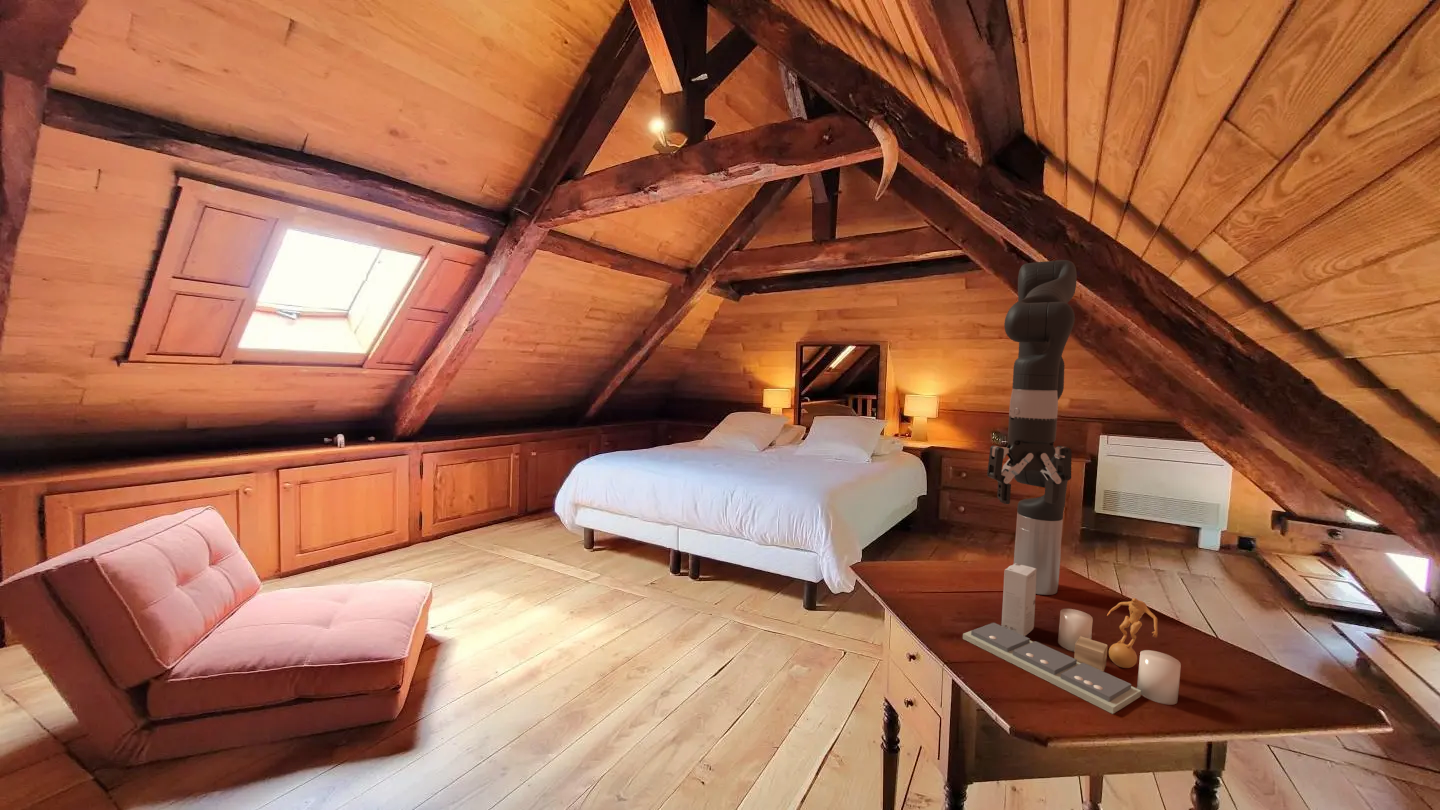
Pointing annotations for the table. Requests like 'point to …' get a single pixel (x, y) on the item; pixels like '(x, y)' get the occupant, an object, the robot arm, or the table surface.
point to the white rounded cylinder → (1073, 627)
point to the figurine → (1123, 652)
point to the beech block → (1091, 653)
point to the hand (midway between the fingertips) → (1027, 502)
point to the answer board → (1055, 667)
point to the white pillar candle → (1159, 677)
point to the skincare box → (1019, 598)
